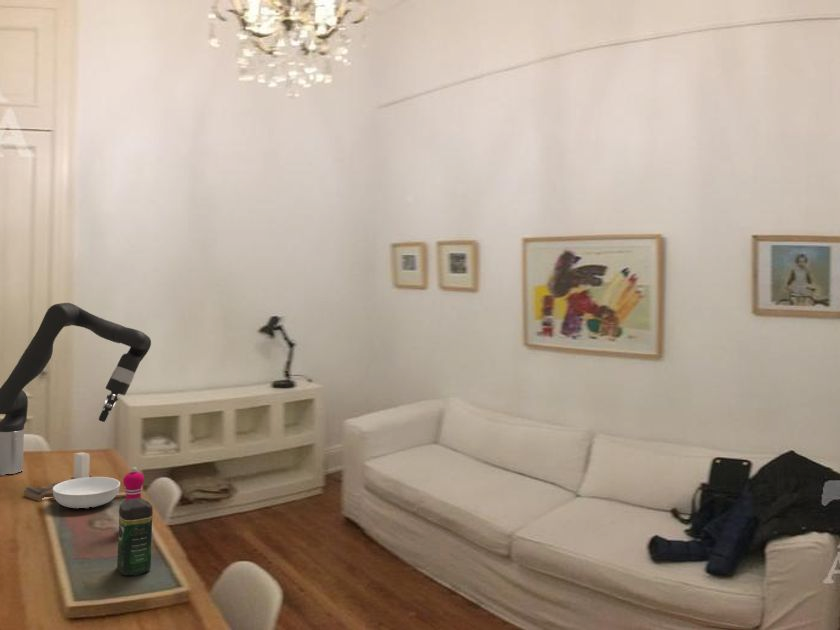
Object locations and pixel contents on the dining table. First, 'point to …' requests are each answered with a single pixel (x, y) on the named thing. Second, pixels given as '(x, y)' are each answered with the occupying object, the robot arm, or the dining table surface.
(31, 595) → the dining table surface
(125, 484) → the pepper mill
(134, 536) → the green labelled bottle
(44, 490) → the brown flat rectangular board
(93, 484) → the serving bowl
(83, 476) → the block
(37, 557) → the dining table surface
